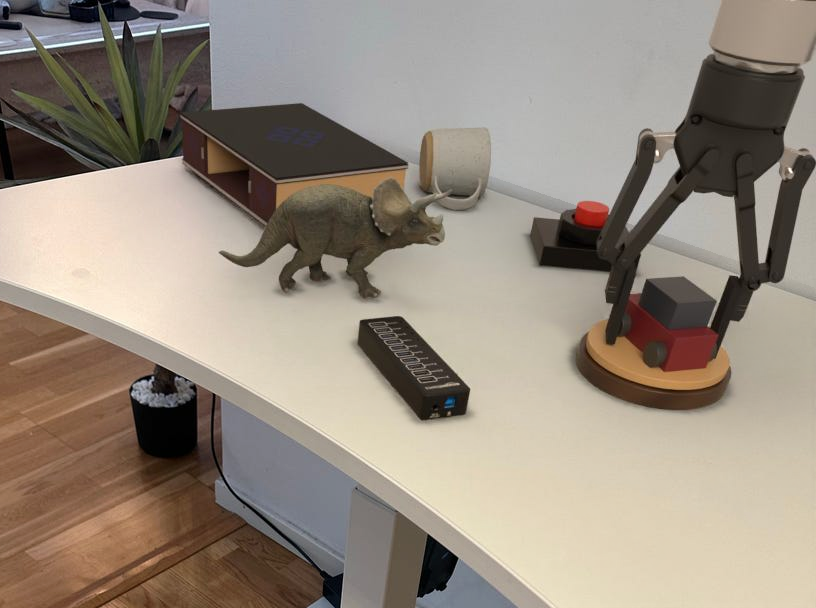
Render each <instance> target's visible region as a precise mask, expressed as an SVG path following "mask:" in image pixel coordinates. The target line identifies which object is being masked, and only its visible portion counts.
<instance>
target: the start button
mask: <svg viewBox="0 0 816 608" xmlns="http://www.w3.org/2000/svg"><path fill="white" fill-rule="evenodd" d="M575 209H576V212H575V216H574V220H575V221H577V222H578V223H582V224H585V225H590V226H604V225H605V223H606V220H607V217H608V214H610V207H609V206H608V205H607V204H604V203H602V202H599V201H593V200H582V201H579V202H578V203H577V204H576V208H575Z"/></svg>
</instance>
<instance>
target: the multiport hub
mask: <svg viewBox="0 0 816 608" xmlns="http://www.w3.org/2000/svg"><path fill="white" fill-rule="evenodd" d="M358 323H359V325H358V335H357V346H358V347H359V348H360V350H362V352H363V354H365V355H366V356H367V358H368V359H369V360H370V361H371V363H372V364H373V365H374V366H375V367H376V369H377V370H378V371H379V372H380V373H381V374H382V376H383V378H385V379H386V380H387V382H389V385H391V386H392V388H393V389H394V391H396V392H397V394H398V395H399V396H400V397H401V398H402V400H403V401H404V402H405V403H406V405H407V406H408V407H409V408H410V409H411V410H412V411H413V413H414V414H415V415H416V416H417V418H418V419H419V420H421V421H432V420H437V419H443V418H445V419H446V418H453V417H458V416H464V415H466V414H467V409H468V405H469V400H470V394H471V387H469V385H468V384H467V383H466V382H465V381H464V380H463V378H461V376H459V375H458V374H457V373H456V371H454V370H453V368H452V367H451V366H450V365H449V364H448V363H447V362H446V361H445V360H444V359H443V358H442V357H441V356H440V354H438V352H436V351H435V350H434V348H433V347H432V346H431V345H430V344H429V343H428V342H427V341H426V340H425V339H424V338H423V337H422V335H420V333H418V332H417V331H416V329H414V327H413V326H412V325H411V324H410V323H409V322H408V321H407V320H406V319H405V317H403V316H402V315H401V316H400V315H394V316H383V317H375V318H365V319H360V320H359V322H358Z"/></svg>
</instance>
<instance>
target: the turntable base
mask: <svg viewBox="0 0 816 608" xmlns="http://www.w3.org/2000/svg"><path fill="white" fill-rule="evenodd" d="M588 332H589V330H588V331H587V332H586V333H584V334H583V336H582V337H581V339H580V341H579V346H578V348H577V352H576V355H575V363H576V367H577V368H578V371H579V372H580V373H581V375H582V376H583V377H584V378H585V379H586V380H587V381H588V382H589V383H590V384H592V385H593V386H595V387H597V388H598V389H599V390H601V391H603V392H606V394H609V395H611V396H613V397H616V398H618V399H620V400H623V401H626V402H629V403H633V404H635V405H639V406H644V407H649V408H653V409H654V408H655V409H661V410H675V411H676V410H677V411H679V410H683V411H684V410H695V409H701V408H705V407H707V406H710V405H712V404H715V403H716V402H718V401H719V400H720V399H722V398H723V396H724V395H725V393H726V391H727V388H728V385H729V383H730V380H731V378H732V373H733V371H732V367H731V364H730V365H729V368H728V371H727V373H726V375H725V377H724V378H723V379H722V380H721V381H720V382H718V383H717V384H715V385H712V386H710V387H706V388H701V389H694V390H673V389H664V388H657V387H652V386H647V385H644V384H640V383H636V382H633V381H630V380H628V379H625V378H623V377H620V376H618V375H616V374H614V373H612V372H610V371H609V370H607V369H605V368H604V367H602V366H601V365H599V364H598V363H597V362H596V361H595V360H594V359H593V358H592V357H591V356H590V354H589V353H588V351H587V348H586V339H587V336H588Z"/></svg>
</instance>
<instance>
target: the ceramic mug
mask: <svg viewBox="0 0 816 608" xmlns="http://www.w3.org/2000/svg"><path fill="white" fill-rule="evenodd" d="M491 141H492V140H491V135H490V131H489V129H488V128H487V127H485V126H484V127H462V128H461V127H460V128H459V127H458V128H436V129H432V130H428V131H427V132H425V133H424V135H423V136H422V139H421V144H420V151H419V162H418V163H419V165H418V167H419V169H418V171H419V172H418V173H419V174H418V175H419V184H420V187H421V189H422V190H423V191H425V192H426V193H431V194H434V193H437V194H441V193H445V192H448V191H449V190H450V189H451V190H452V192H451V193H450V194H449V195H454V196H466V197H467V198H462V199H459V198H453V197H452V198H451V197H449V196H447V197H445V198H442V199H439V200H436V202H437V203H438V204H439V205H440V206H441V207H444V208H446V209H448V210H452V211H464V210H465V211H466V210H468V209H471V208H472V207H473V206H474V205H475V204H476V203H477V201H478V200H479V197H482V196H484V194H485V192H486V189H487V185H488V182H489V178H490V171H491V164H492V163H491V161H492V160H491V159H492V143H491Z"/></svg>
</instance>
